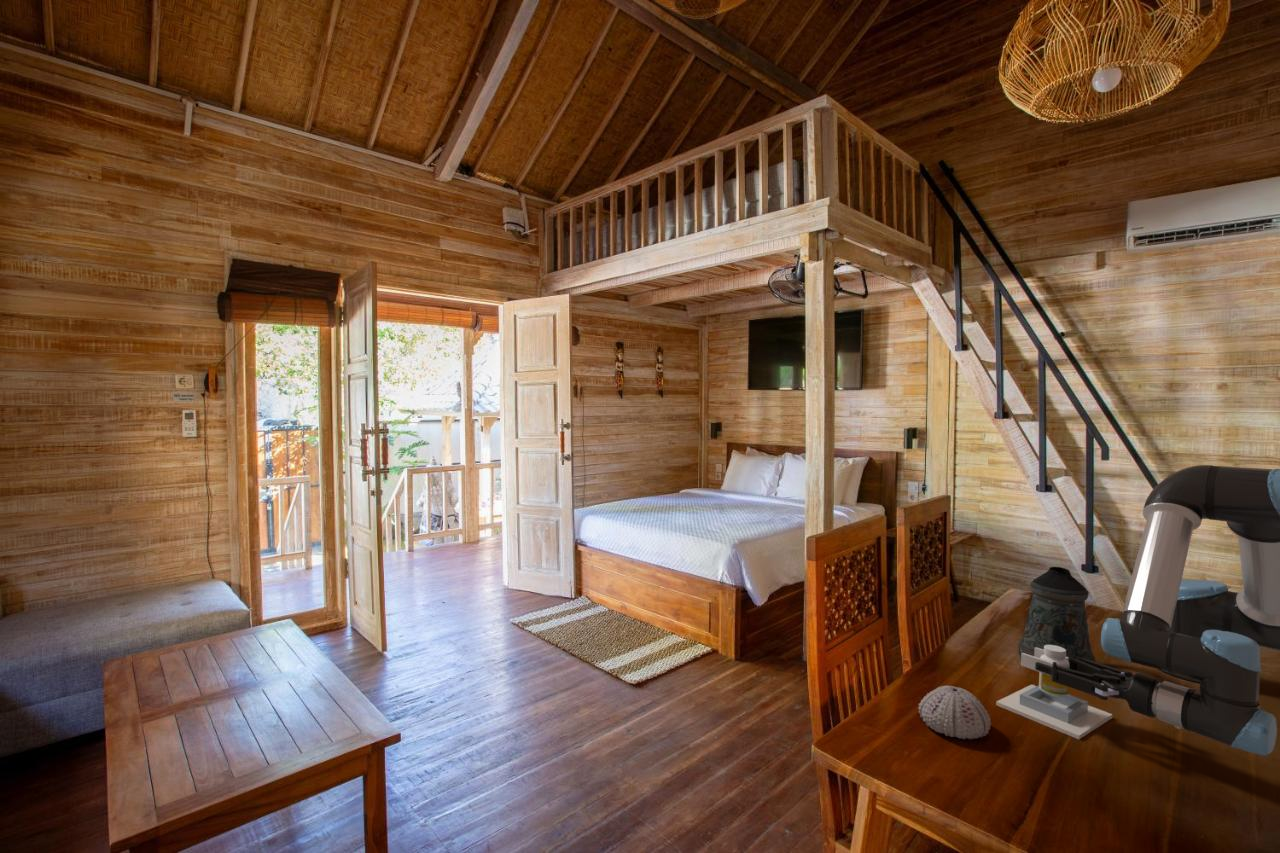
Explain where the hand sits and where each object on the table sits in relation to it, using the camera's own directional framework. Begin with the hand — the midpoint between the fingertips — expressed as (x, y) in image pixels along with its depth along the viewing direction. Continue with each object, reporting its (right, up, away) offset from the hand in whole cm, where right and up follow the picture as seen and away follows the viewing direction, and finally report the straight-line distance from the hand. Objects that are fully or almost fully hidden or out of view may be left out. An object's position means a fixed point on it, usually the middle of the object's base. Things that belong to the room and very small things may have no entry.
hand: (1028, 656), depth 135 cm
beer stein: (+20, -10, +21) cm, 31 cm away
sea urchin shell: (-23, -11, -10) cm, 27 cm away
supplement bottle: (+3, -6, -4) cm, 8 cm away
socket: (+3, -11, -4) cm, 12 cm away
